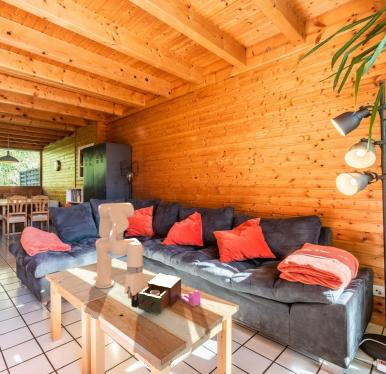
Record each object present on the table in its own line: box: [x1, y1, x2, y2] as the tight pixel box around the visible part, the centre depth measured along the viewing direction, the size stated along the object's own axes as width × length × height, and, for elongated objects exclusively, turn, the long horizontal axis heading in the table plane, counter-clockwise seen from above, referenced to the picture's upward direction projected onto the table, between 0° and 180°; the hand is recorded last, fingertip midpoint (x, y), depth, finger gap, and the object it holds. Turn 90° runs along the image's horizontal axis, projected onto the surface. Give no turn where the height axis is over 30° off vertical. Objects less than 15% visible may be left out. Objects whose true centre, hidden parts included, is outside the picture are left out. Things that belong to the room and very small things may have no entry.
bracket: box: [179, 290, 201, 307], centre depth 149 cm, size 13×6×7 cm, turn 35°
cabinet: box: [147, 273, 182, 307], centre depth 152 cm, size 16×15×11 cm
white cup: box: [150, 290, 160, 297], centre depth 141 cm, size 6×6×6 cm
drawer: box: [137, 285, 170, 316], centre depth 139 cm, size 19×13×9 cm
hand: (135, 306), depth 122 cm, fingers closed
